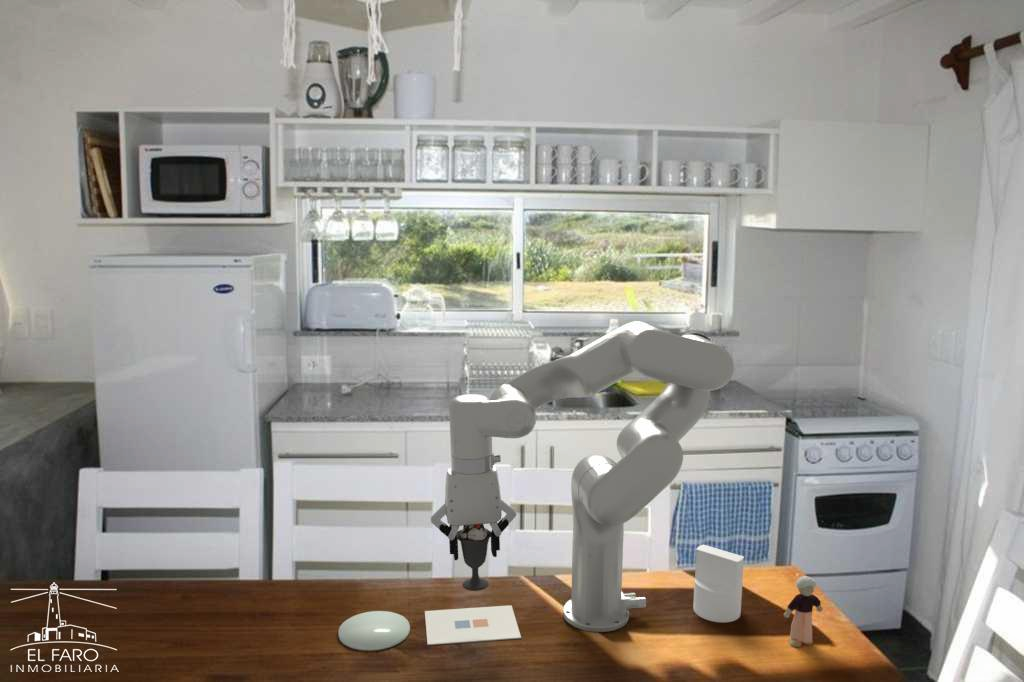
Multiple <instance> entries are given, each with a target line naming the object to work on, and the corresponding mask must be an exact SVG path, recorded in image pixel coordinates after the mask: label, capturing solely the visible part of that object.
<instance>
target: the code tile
mask: <svg viewBox="0 0 1024 682" xmlns="http://www.w3.org/2000/svg"><path fill="white" fill-rule="evenodd" d="M424 619H425V629H426V630H425V631H426V641H427V642H426V643H427V646H433V645H434V646H435V645H445V644H450V645H451V644H460V643H461V644H463V643H474V642H476V643H477V642H490V641H501V640H502V641H503V640H504V641H505V640H516V639H518V640H519V639H522V636H521V633H520V629H519V625H518V621H517V619H516V616H515V612H514V608H513V606H512V605H498V606H497V605H496V606H495V605H494V606H481V607H467V608H463V607H462V608H453V609H451V608H449V609H437V610H424Z"/></svg>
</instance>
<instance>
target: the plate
mask: <svg viewBox="0 0 1024 682" xmlns="http://www.w3.org/2000/svg"><path fill="white" fill-rule="evenodd" d="M410 631H411V625H410V622H409V621H408V619H407V618H406V617H405V616H403V615H402V614H399V613H396V612H394V611H386V610H372V611H366V612H363V613H362V612H361V613H358V614H355V615H353V616H351V617H349V618H348V619H346V620H345V621H344V622H342V624H340V626H339V628H338V639H339V642H341V643H342V644H343V645H344V646H346V647H347V648H350V649H354V650H357V651H363V652H364V651H365V652H367V651H368V652H369V651H371V652H373V651H381V650H385V649H386V650H387V649H389V648H391V647H394V646H397V645H399V644H400V643H402V642H403V641H404V640H406V638H407V637H408V636H409V634H410Z"/></svg>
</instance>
